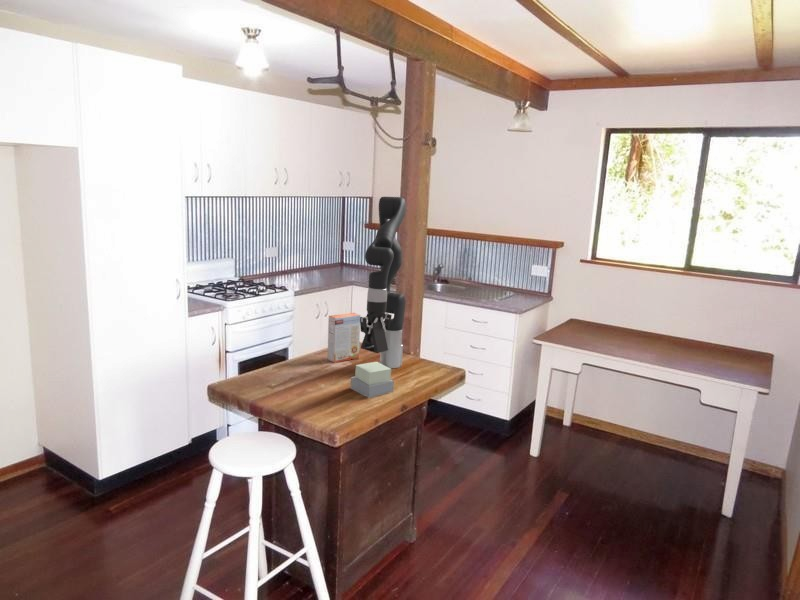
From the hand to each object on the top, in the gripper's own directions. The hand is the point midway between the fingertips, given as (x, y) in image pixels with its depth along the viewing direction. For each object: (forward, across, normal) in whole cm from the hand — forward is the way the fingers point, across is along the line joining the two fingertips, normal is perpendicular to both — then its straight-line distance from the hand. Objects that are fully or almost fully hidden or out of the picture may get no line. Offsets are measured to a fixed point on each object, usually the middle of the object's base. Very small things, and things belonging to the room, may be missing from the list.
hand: (374, 341), depth 214 cm
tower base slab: (+20, 0, 0) cm, 20 cm away
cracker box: (+20, -13, -38) cm, 45 cm away
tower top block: (+15, 0, 0) cm, 15 cm away
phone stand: (+3, 0, 0) cm, 3 cm away
